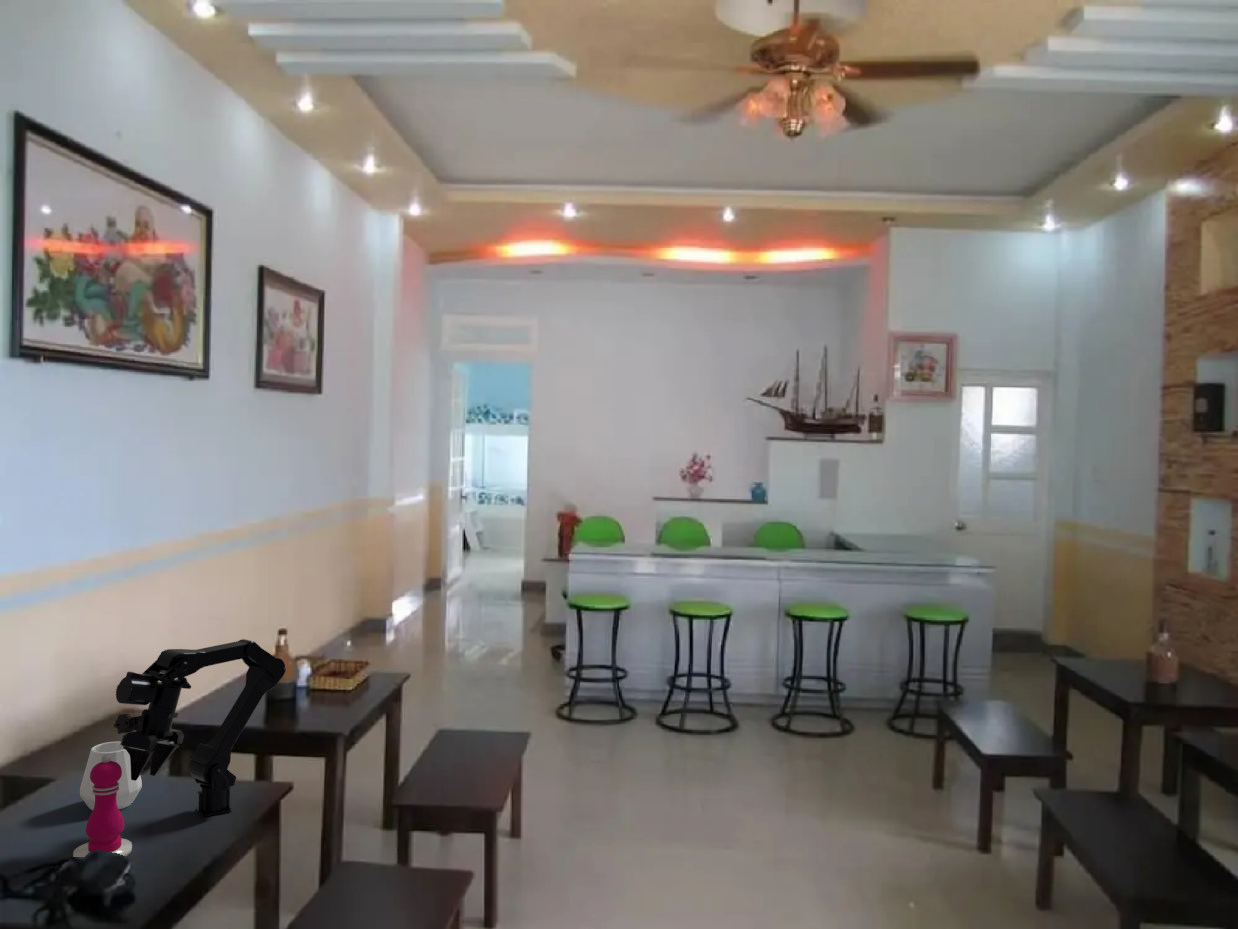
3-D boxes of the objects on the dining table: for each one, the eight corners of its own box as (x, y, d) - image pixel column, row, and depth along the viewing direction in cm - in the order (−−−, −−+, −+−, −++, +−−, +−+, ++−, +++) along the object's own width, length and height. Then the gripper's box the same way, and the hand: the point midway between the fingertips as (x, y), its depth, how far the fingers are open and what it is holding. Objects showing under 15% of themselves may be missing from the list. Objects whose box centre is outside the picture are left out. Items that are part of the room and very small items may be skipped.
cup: (136, 812, 229) (137, 753, 228) (72, 817, 225) (73, 757, 224) (146, 792, 241) (147, 736, 241) (86, 796, 238) (87, 740, 237)
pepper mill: (91, 858, 202) (92, 762, 201) (81, 847, 207) (82, 753, 206) (128, 849, 207) (130, 755, 206) (117, 838, 212) (119, 747, 211)
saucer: (127, 838, 214) (127, 834, 214) (135, 857, 205) (135, 852, 205) (70, 849, 208) (70, 845, 208) (75, 869, 199) (76, 864, 199)
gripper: (146, 698, 229) (127, 766, 226) (107, 701, 211) (86, 775, 207) (192, 707, 229) (174, 775, 226) (157, 711, 210) (137, 785, 207)
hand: (143, 777), depth 216 cm, fingers open, 9 cm apart
